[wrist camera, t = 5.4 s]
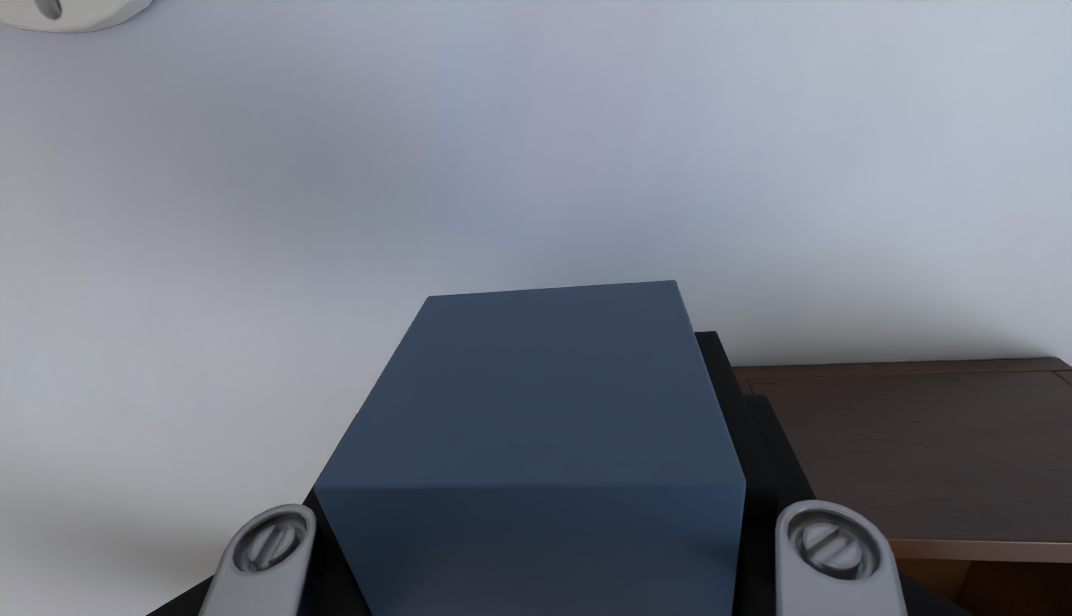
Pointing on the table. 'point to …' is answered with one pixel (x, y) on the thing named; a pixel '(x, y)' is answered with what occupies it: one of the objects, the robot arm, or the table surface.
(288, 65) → the table surface
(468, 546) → the block
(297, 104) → the table surface
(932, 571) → the box
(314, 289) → the table surface
